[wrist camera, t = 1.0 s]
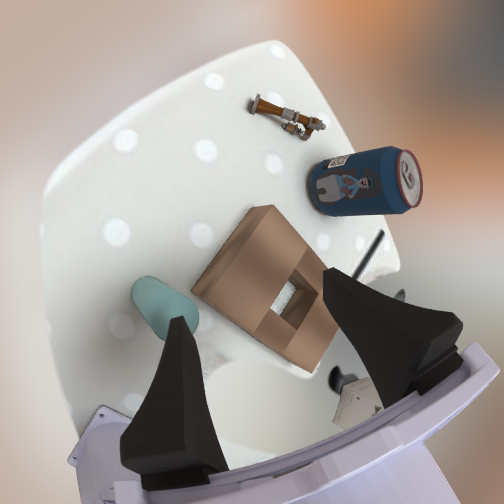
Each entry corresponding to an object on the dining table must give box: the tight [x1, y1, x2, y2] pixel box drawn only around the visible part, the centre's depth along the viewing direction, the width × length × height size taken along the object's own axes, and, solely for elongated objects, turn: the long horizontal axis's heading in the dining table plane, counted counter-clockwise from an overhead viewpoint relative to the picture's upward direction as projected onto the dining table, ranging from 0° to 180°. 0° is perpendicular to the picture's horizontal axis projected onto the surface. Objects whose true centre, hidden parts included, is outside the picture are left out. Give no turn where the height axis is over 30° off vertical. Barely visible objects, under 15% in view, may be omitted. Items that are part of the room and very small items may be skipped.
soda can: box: [309, 146, 423, 217], centre depth 28 cm, size 7×7×12 cm
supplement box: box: [333, 377, 384, 430], centre depth 35 cm, size 7×7×13 cm
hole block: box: [191, 205, 339, 373], centre depth 28 cm, size 10×16×4 cm, turn 49°
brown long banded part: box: [251, 93, 326, 141], centre depth 28 cm, size 2×8×4 cm, turn 72°
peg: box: [131, 276, 199, 341], centre depth 19 cm, size 3×3×8 cm
